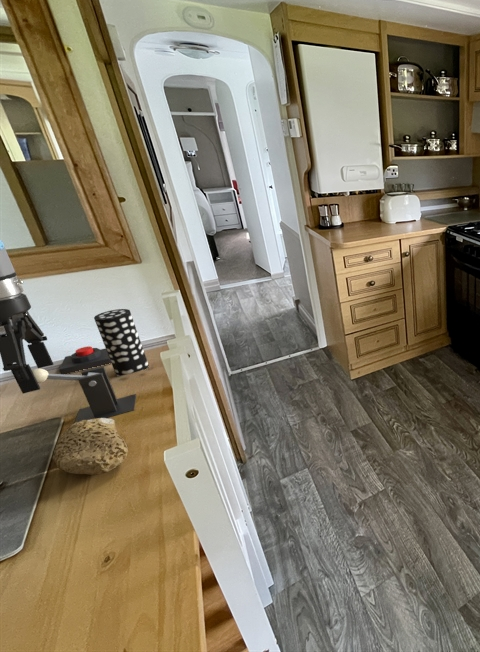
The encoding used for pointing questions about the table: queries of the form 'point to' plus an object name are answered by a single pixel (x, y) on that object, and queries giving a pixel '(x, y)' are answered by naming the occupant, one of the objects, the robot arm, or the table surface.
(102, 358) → the red push button box
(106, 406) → the lever base
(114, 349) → the white-spotted black cylinder
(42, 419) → the table surface
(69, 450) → the sponge
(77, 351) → the power button
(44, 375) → the switch lever
